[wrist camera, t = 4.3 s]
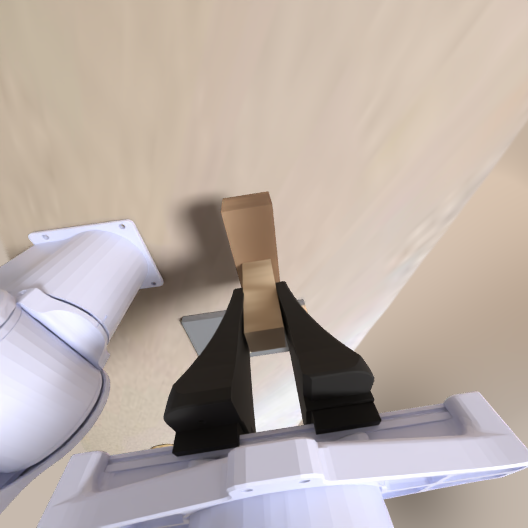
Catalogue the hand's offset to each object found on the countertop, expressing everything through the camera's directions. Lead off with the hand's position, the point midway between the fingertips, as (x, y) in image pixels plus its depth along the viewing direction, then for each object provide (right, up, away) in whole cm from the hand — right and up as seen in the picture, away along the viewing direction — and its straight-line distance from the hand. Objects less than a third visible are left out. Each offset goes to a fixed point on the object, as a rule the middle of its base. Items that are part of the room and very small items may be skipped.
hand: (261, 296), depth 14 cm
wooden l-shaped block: (0, +3, +3) cm, 4 cm away
